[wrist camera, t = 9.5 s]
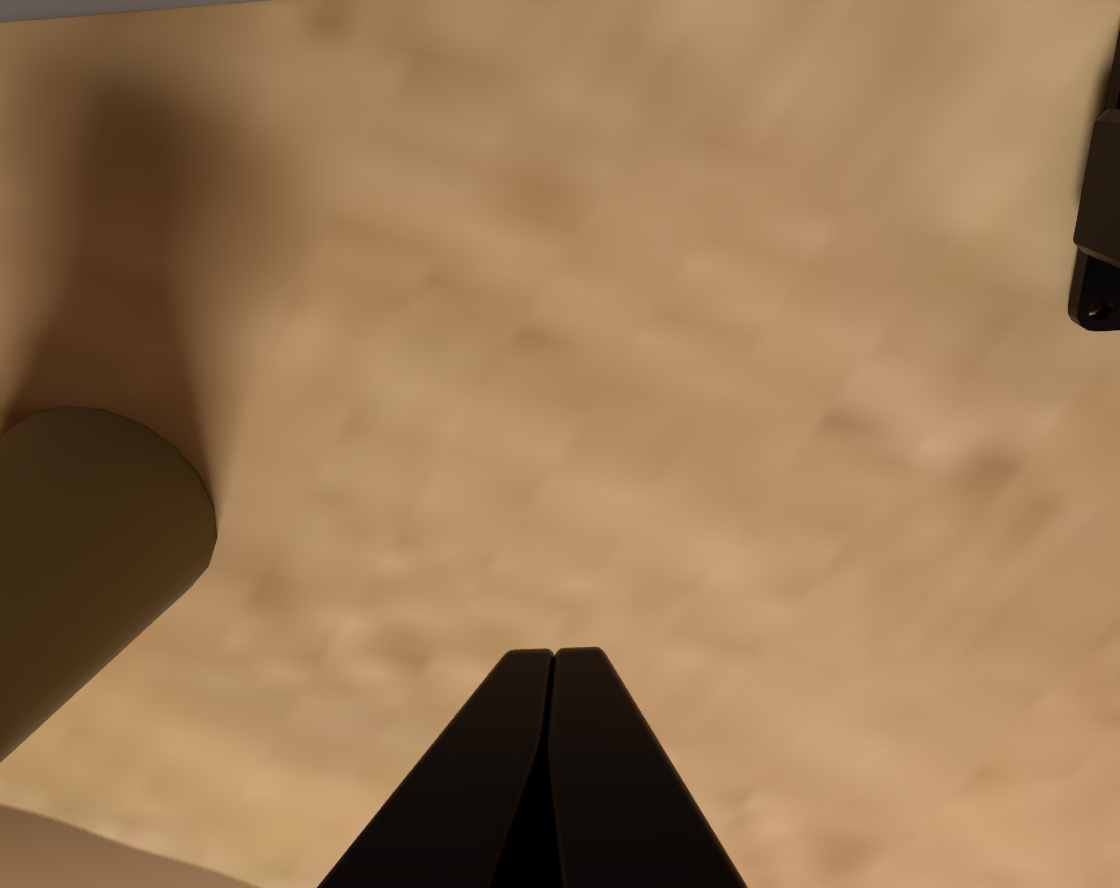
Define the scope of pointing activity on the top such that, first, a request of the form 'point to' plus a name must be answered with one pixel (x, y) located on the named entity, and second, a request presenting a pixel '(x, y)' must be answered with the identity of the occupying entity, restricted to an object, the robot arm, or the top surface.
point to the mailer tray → (90, 7)
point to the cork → (87, 552)
